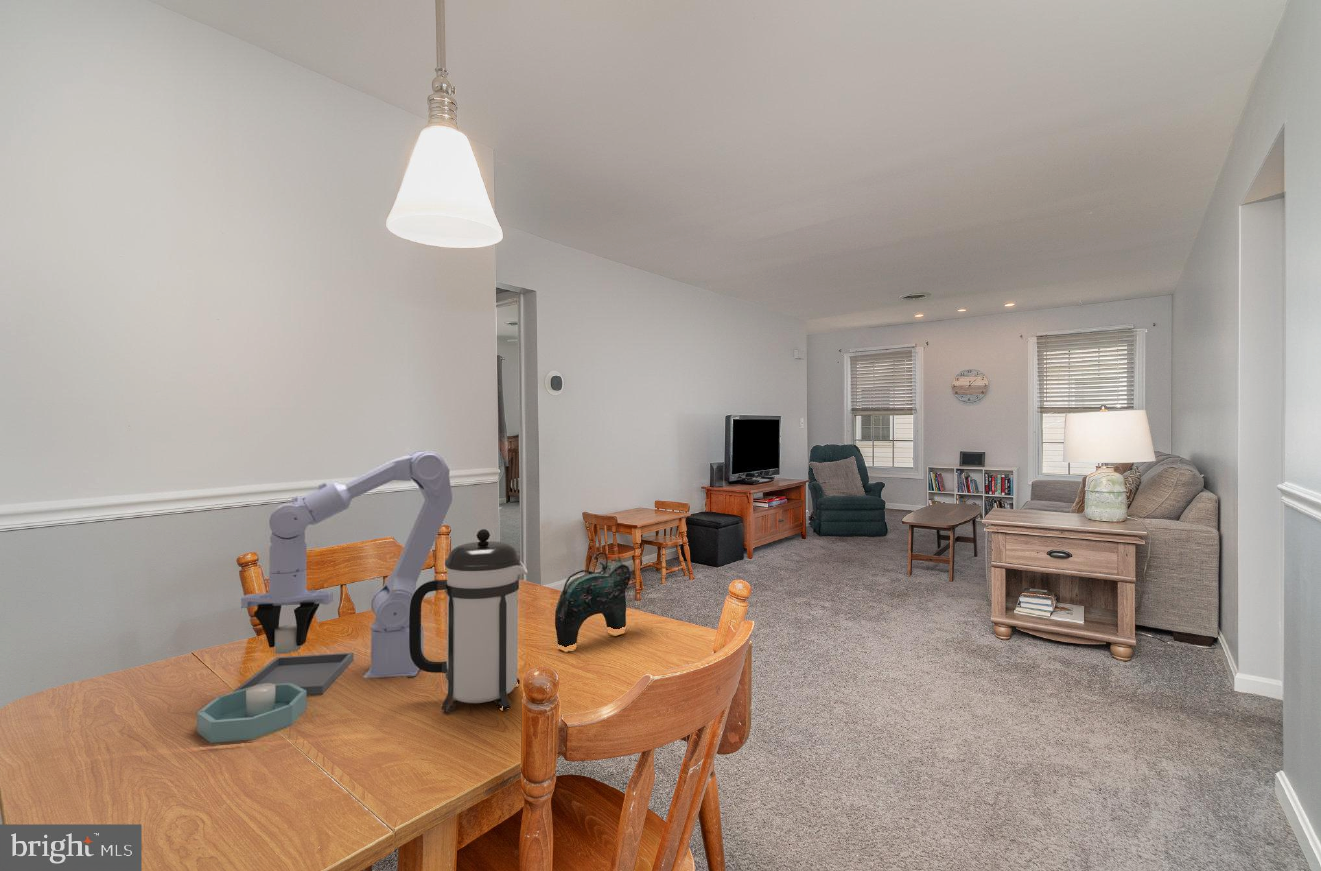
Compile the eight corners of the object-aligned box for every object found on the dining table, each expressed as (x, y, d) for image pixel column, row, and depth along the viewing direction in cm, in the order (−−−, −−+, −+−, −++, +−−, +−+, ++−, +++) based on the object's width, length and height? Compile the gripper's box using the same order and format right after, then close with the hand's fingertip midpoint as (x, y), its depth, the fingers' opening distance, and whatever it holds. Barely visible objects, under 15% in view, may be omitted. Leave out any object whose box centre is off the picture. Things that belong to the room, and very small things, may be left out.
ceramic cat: (618, 628, 142) (618, 546, 142) (636, 634, 137) (636, 549, 138) (550, 649, 128) (550, 557, 128) (568, 657, 123) (568, 562, 123)
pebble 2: (304, 645, 108) (304, 623, 108) (294, 653, 104) (294, 630, 105) (280, 646, 108) (280, 625, 108) (270, 654, 104) (270, 632, 104)
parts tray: (353, 662, 120) (353, 652, 120) (322, 697, 104) (322, 685, 104) (276, 667, 117) (276, 657, 117) (232, 703, 101) (232, 691, 101)
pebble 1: (277, 705, 99) (277, 681, 99) (272, 715, 96) (272, 691, 96) (248, 709, 97) (249, 685, 97) (243, 720, 94) (243, 695, 94)
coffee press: (496, 672, 115) (497, 520, 115) (541, 698, 103) (542, 529, 103) (407, 700, 102) (407, 529, 103) (447, 733, 91) (447, 541, 91)
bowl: (315, 701, 102) (316, 681, 102) (280, 740, 89) (280, 717, 89) (230, 707, 100) (230, 686, 100) (180, 748, 86) (181, 724, 86)
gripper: (339, 564, 111) (338, 635, 111) (255, 566, 109) (254, 639, 109) (324, 572, 104) (324, 648, 104) (234, 575, 102) (234, 653, 102)
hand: (287, 644), depth 106 cm, fingers closed on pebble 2, 4 cm apart
